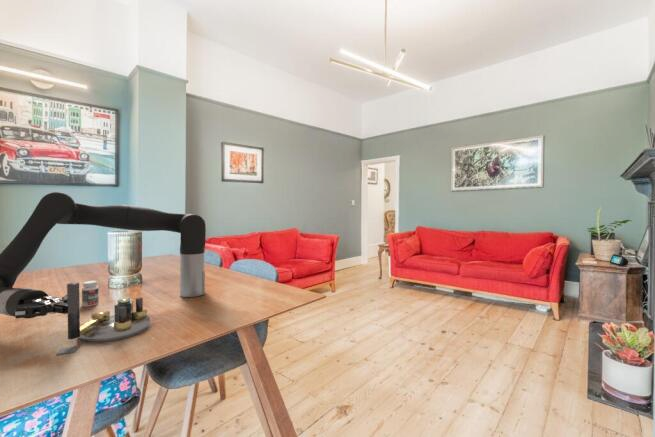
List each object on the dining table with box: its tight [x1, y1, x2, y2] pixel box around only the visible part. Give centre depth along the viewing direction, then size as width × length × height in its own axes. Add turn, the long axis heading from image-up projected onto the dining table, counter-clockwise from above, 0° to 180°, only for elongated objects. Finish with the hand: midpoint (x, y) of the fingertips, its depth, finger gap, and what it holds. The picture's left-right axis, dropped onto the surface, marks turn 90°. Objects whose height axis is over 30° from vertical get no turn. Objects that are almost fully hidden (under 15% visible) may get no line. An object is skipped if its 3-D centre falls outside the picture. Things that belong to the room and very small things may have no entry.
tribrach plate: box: [78, 297, 151, 344], centre depth 88 cm, size 17×17×9 cm
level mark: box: [55, 344, 80, 356], centre depth 75 cm, size 4×4×1 cm
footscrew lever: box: [66, 282, 111, 340], centre depth 84 cm, size 15×4×14 cm, turn 10°
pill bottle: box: [81, 280, 100, 308], centre depth 109 cm, size 5×5×8 cm
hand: (69, 309), depth 78 cm, fingers closed
